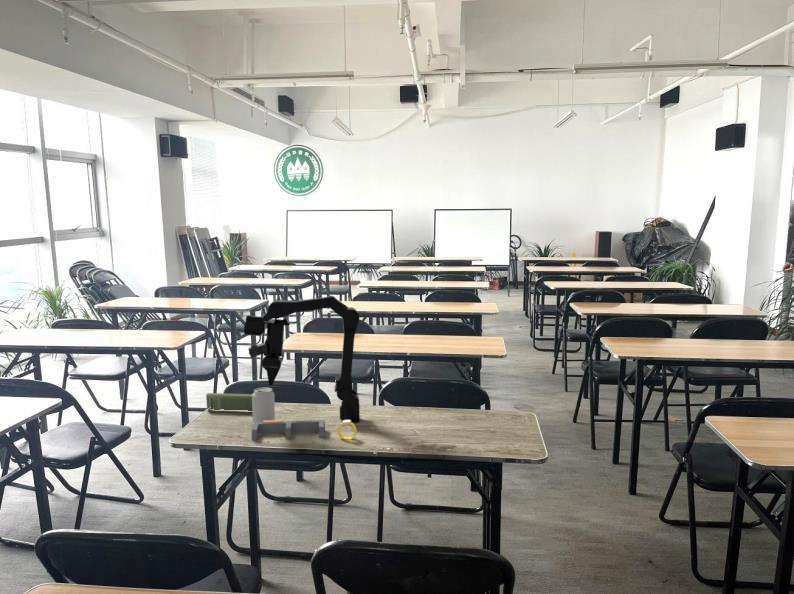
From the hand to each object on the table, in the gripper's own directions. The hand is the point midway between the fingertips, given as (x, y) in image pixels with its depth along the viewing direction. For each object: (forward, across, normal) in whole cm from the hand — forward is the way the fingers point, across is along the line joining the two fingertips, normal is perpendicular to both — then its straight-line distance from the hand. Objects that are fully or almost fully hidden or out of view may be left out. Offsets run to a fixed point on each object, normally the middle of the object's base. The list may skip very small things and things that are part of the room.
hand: (271, 381), depth 199 cm
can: (+15, 0, -2) cm, 15 cm away
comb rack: (+14, +13, +8) cm, 21 cm away
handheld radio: (+16, -15, -12) cm, 25 cm away
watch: (+12, +19, +26) cm, 35 cm away
